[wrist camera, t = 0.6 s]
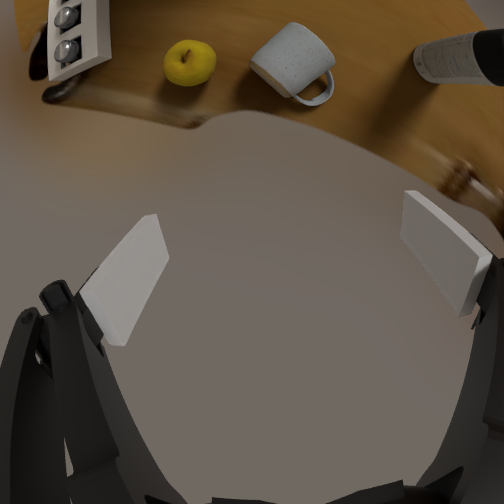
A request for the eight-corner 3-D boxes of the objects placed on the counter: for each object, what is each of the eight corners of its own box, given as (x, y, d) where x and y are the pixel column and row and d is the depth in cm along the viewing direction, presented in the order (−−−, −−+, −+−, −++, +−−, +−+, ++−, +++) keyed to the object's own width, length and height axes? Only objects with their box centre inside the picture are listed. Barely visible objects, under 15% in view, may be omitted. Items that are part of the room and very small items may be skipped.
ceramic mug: (246, 67, 30) (242, 58, 24) (288, 30, 27) (294, 13, 20) (304, 119, 34) (314, 122, 27) (344, 82, 30) (363, 78, 24)
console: (63, -4, 20) (50, -8, 17) (110, -29, 20) (98, -36, 16) (64, 80, 30) (49, 81, 26) (111, 58, 29) (97, 55, 25)
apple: (223, 46, 29) (212, 32, 22) (218, 89, 32) (206, 84, 25) (177, 47, 29) (157, 35, 22) (173, 88, 32) (151, 85, 25)
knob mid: (68, 16, 22) (53, 13, 18) (85, 7, 22) (70, 2, 18) (68, 33, 24) (52, 30, 20) (85, 24, 23) (70, 20, 20)
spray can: (440, 91, 29) (535, 103, 11) (406, 69, 28) (500, 61, 11) (448, 59, 25) (540, 57, 8) (415, 36, 25) (503, 14, 7)
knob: (68, 48, 25) (52, 46, 22) (85, 38, 25) (70, 35, 21) (69, 66, 27) (53, 66, 23) (86, 58, 27) (70, 56, 23)
